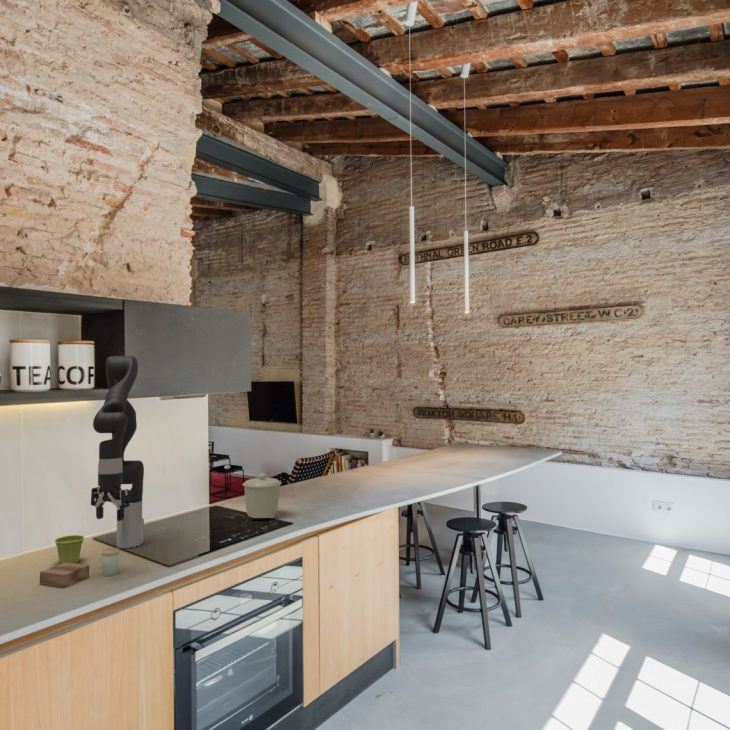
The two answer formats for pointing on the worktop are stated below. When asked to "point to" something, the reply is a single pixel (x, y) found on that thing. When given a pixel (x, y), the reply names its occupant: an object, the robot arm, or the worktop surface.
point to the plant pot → (69, 548)
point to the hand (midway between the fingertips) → (109, 519)
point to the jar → (110, 561)
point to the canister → (262, 496)
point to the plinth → (64, 574)
